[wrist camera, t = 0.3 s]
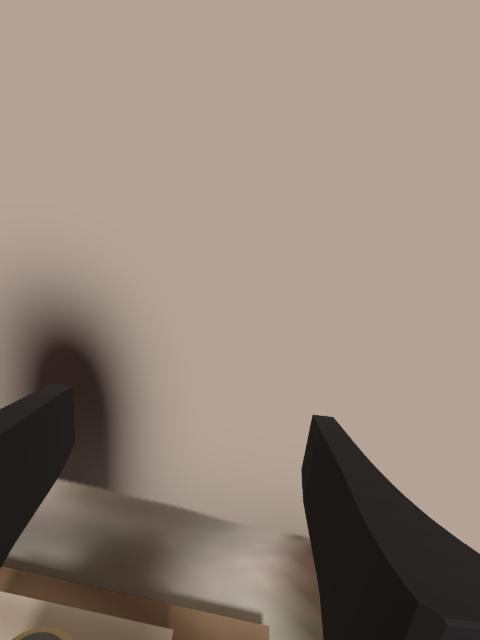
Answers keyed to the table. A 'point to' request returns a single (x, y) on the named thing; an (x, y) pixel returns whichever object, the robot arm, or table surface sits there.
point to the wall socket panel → (106, 613)
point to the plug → (43, 634)
